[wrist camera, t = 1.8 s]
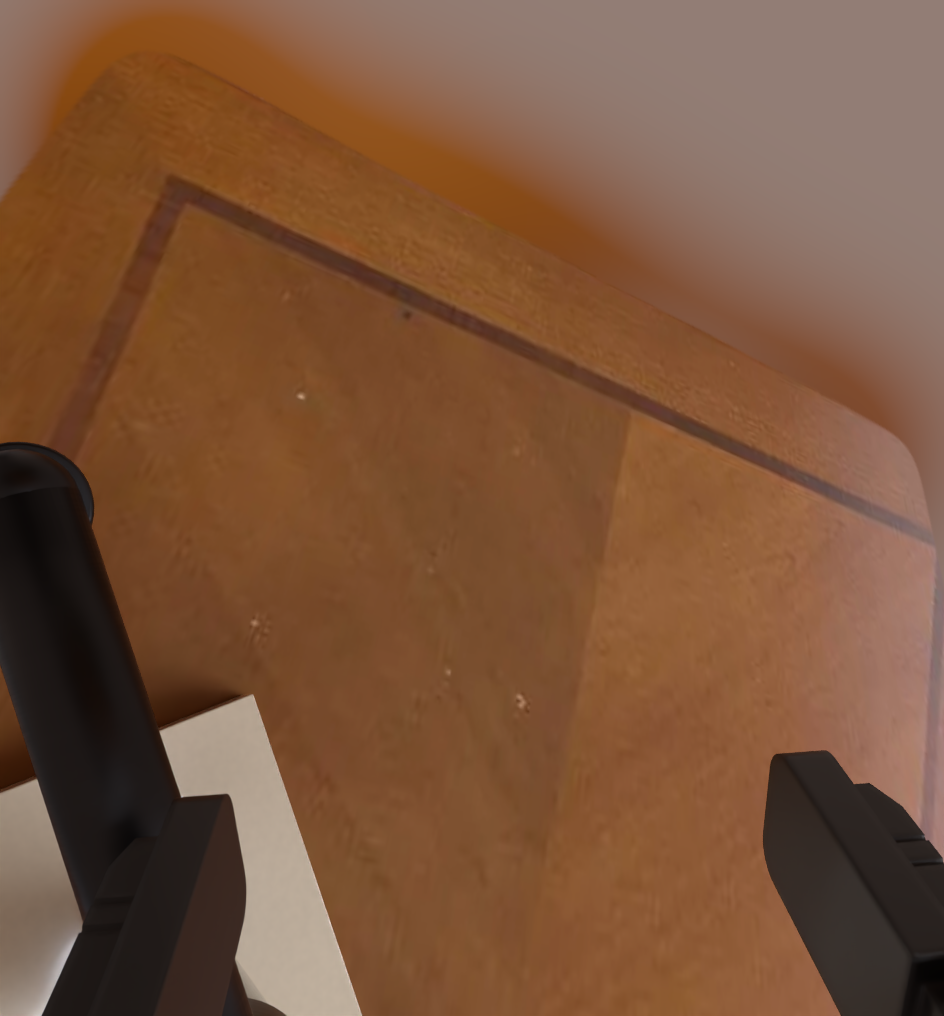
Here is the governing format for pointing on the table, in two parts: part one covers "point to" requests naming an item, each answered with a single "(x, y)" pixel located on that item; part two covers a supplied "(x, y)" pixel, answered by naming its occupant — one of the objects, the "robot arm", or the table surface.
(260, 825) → the base
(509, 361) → the table surface
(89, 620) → the spout
